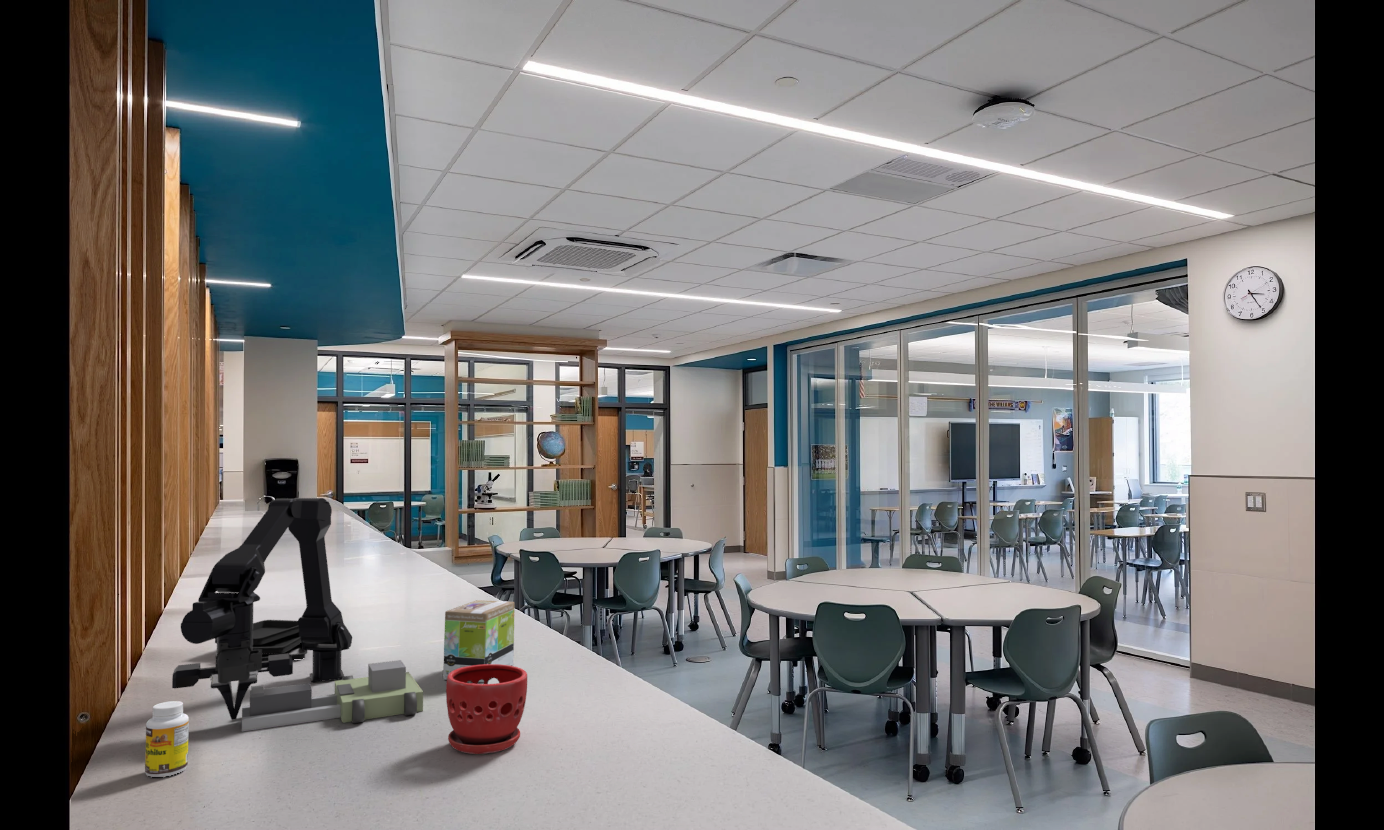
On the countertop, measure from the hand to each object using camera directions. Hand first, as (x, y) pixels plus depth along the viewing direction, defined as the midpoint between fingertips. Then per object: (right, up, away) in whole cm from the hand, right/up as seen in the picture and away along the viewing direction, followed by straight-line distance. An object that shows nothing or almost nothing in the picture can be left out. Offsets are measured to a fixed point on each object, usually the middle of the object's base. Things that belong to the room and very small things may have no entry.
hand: (233, 718), depth 150 cm
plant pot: (+48, -1, -11) cm, 49 cm away
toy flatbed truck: (+14, -1, +7) cm, 16 cm away
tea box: (+35, -3, +34) cm, 49 cm away
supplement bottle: (+2, 0, -22) cm, 22 cm away
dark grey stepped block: (+7, -1, +3) cm, 8 cm away
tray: (-22, -4, +55) cm, 59 cm away
